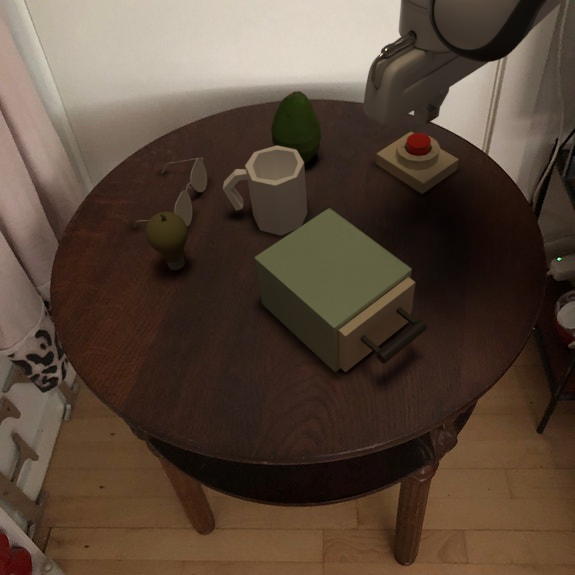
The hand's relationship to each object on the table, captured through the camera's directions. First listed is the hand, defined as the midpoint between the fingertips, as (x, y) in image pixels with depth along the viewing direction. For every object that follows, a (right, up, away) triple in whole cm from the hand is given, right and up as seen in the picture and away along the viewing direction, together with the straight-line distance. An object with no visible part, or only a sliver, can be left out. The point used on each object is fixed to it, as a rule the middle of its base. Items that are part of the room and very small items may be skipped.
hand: (425, 120), depth 80 cm
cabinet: (-12, -25, +3) cm, 27 cm away
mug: (-21, -11, +15) cm, 28 cm away
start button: (+3, 0, +17) cm, 17 cm away
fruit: (-16, 0, +23) cm, 28 cm away
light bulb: (-33, -19, +10) cm, 40 cm away
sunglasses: (-36, -8, +19) cm, 41 cm away
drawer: (-9, -26, 0) cm, 28 cm away
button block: (+3, -2, +20) cm, 20 cm away
